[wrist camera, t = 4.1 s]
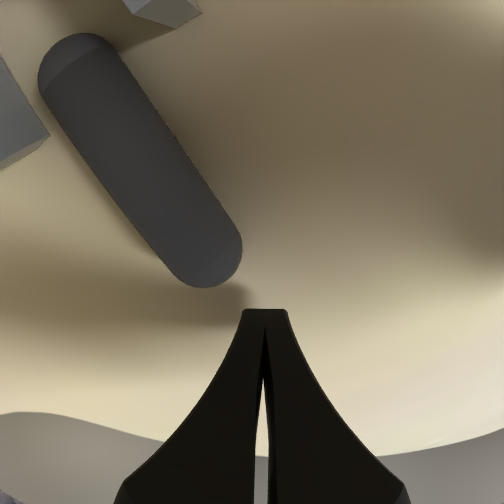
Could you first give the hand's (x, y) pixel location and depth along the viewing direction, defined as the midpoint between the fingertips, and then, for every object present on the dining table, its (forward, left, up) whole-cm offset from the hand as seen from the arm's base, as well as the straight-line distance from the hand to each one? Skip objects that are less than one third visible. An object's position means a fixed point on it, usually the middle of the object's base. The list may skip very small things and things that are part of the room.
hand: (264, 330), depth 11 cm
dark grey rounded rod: (+6, 0, -1) cm, 7 cm away
